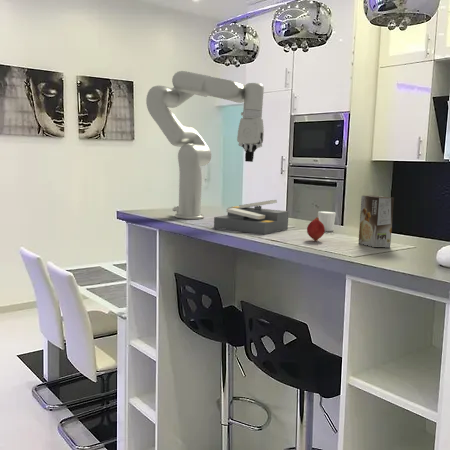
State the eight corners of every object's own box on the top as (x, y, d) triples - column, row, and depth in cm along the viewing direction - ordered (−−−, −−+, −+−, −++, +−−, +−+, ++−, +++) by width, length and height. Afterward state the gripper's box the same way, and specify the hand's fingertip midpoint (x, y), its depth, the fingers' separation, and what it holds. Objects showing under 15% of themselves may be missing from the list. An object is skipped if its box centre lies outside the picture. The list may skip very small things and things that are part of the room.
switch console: (213, 227, 192) (214, 205, 190) (239, 223, 206) (240, 203, 205) (264, 234, 179) (265, 211, 178) (287, 229, 194) (288, 208, 193)
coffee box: (391, 247, 162) (395, 197, 160) (375, 248, 159) (379, 197, 157) (372, 242, 170) (376, 195, 168) (357, 243, 168) (360, 195, 166)
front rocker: (226, 211, 190) (226, 208, 190) (233, 210, 194) (233, 207, 194) (258, 219, 183) (258, 216, 182) (264, 218, 187) (265, 215, 187)
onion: (304, 241, 168) (306, 217, 167) (308, 238, 174) (309, 215, 172) (322, 242, 166) (324, 218, 165) (325, 240, 172) (326, 216, 170)
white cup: (333, 229, 200) (334, 211, 199) (335, 231, 194) (337, 213, 193) (316, 228, 201) (317, 210, 200) (317, 230, 194) (318, 212, 193)
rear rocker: (239, 208, 197) (239, 205, 197) (246, 207, 202) (245, 204, 202) (270, 203, 189) (270, 200, 189) (276, 202, 194) (276, 199, 194)
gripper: (231, 114, 203) (228, 160, 206) (263, 114, 194) (259, 162, 197) (242, 115, 209) (239, 160, 212) (273, 116, 200) (269, 163, 203)
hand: (249, 161), depth 204 cm, fingers closed
